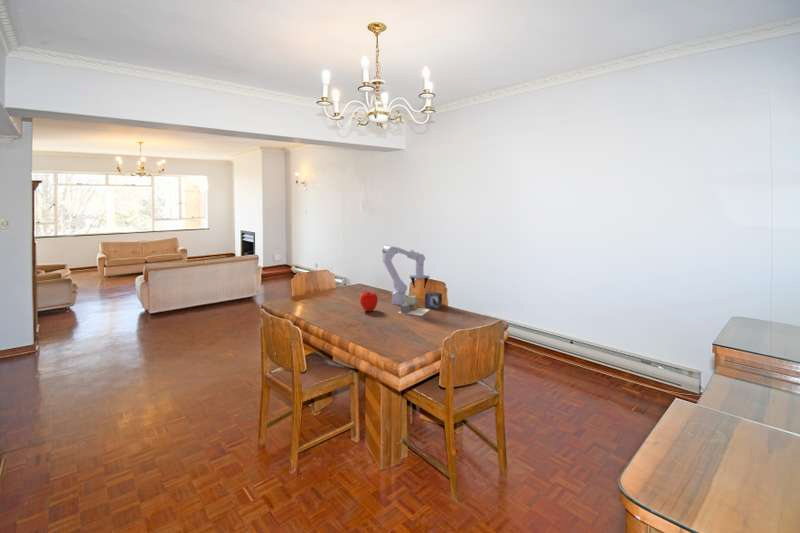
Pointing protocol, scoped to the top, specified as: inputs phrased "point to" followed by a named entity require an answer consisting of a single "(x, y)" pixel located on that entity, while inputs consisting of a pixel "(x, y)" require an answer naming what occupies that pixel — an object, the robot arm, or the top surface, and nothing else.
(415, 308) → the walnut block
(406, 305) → the charcoal block
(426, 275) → the robot arm
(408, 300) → the sage block
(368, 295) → the apple
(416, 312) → the grey mat
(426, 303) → the picture frame
